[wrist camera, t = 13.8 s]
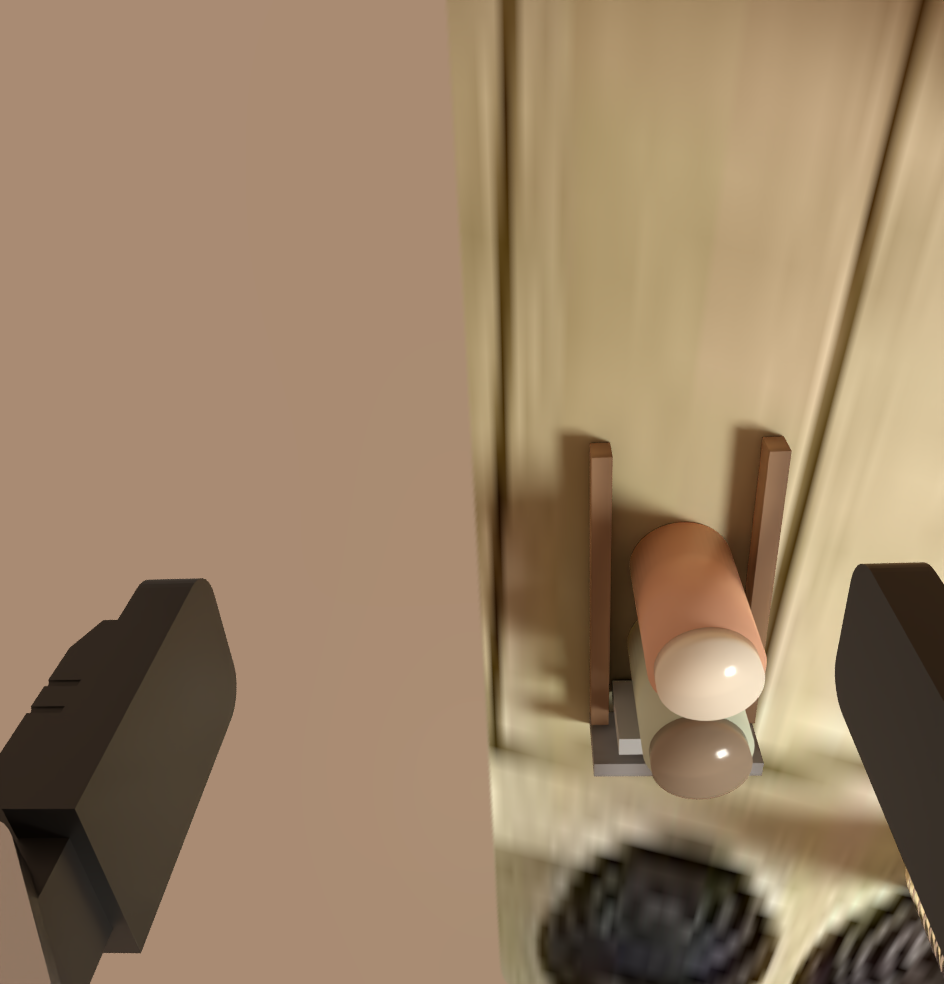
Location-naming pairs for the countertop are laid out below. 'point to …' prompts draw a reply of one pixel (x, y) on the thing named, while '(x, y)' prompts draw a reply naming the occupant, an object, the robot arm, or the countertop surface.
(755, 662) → the terracotta jar
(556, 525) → the countertop surface
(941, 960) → the water bottle
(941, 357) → the countertop surface
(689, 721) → the sage jar
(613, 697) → the plate
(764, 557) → the lane
